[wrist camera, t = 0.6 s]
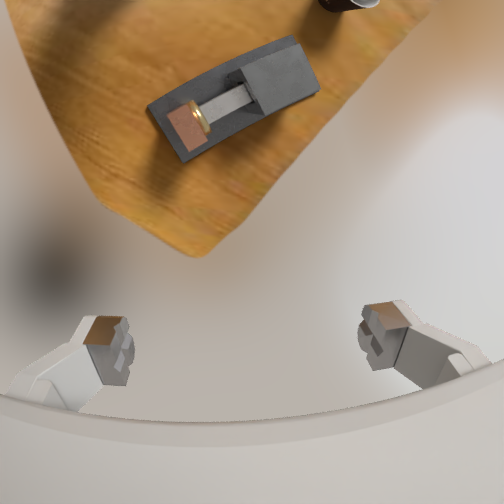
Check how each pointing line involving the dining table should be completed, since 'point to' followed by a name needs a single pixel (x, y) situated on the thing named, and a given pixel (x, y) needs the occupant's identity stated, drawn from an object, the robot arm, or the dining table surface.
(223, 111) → the shaft
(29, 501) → the robot arm
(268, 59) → the housing
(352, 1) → the coffee mug
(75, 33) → the dining table surface
